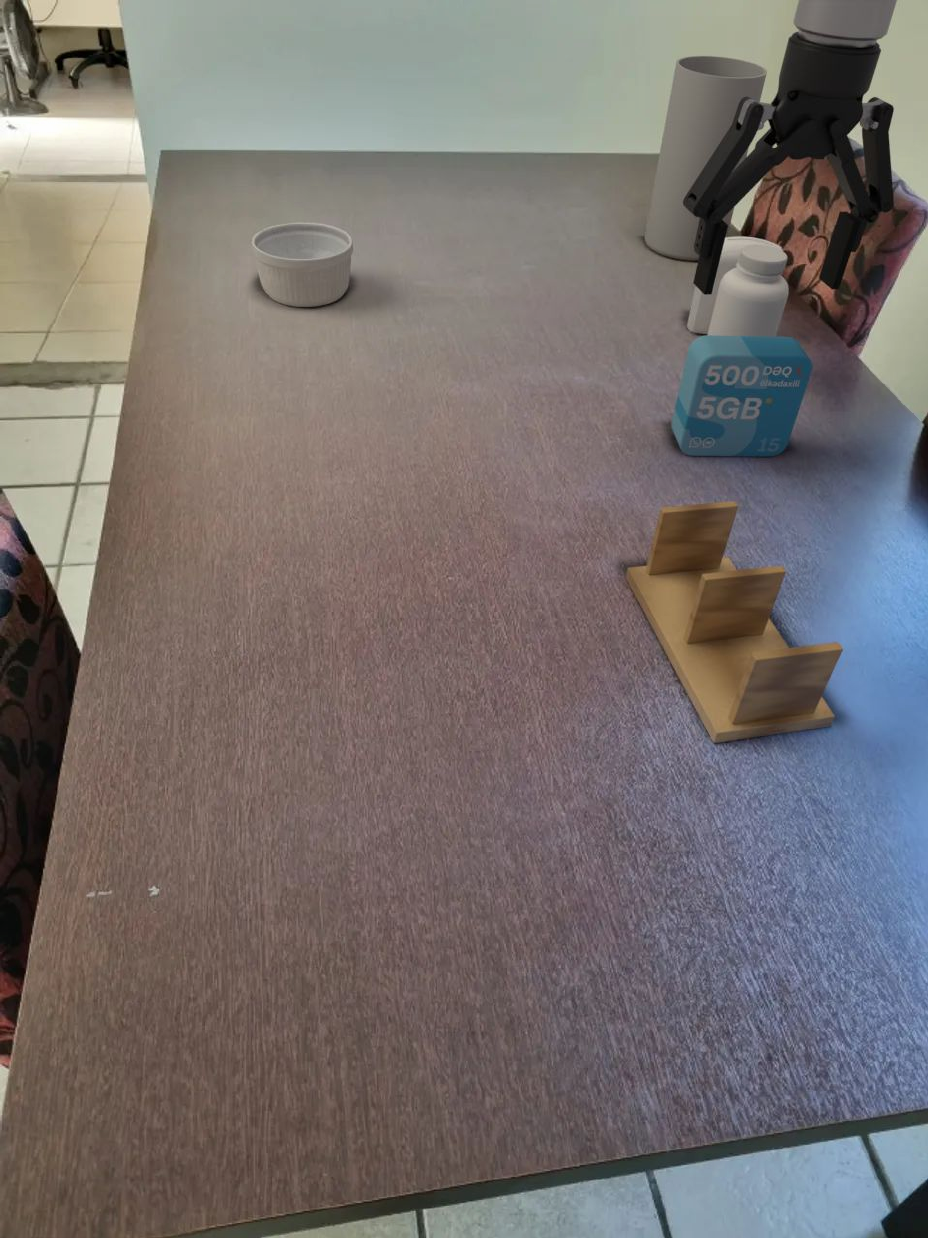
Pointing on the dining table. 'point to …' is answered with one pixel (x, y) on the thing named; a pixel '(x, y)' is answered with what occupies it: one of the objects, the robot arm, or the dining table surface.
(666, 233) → the cylinder vase
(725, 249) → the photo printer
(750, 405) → the data package
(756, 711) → the slot rack
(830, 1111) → the dining table surface
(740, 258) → the pill bottle
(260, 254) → the ramekin
